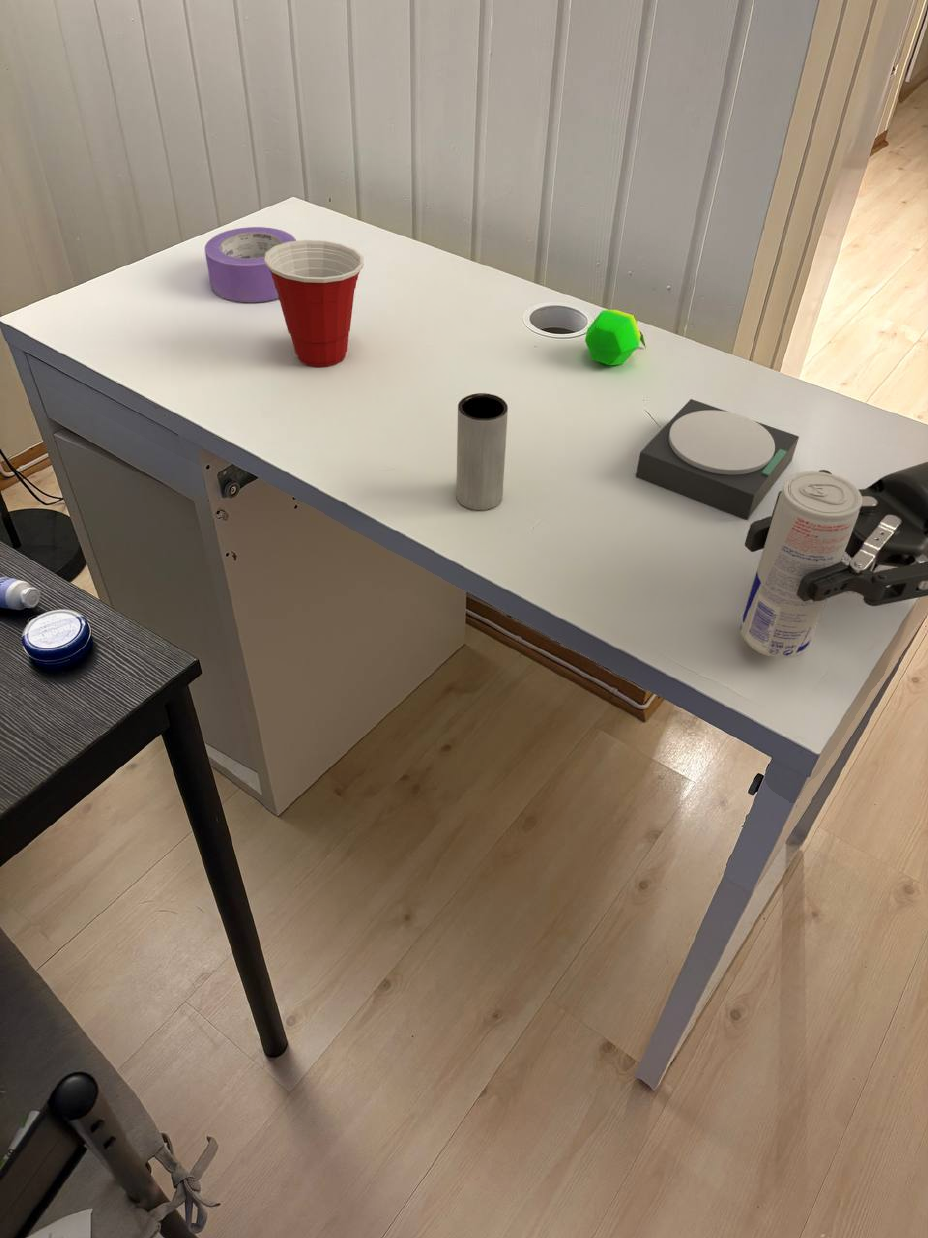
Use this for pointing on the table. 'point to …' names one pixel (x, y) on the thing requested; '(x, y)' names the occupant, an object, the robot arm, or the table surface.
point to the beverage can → (798, 560)
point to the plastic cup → (316, 296)
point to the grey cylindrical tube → (481, 450)
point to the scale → (717, 458)
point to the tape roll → (243, 263)
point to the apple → (613, 337)
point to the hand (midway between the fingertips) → (775, 564)
